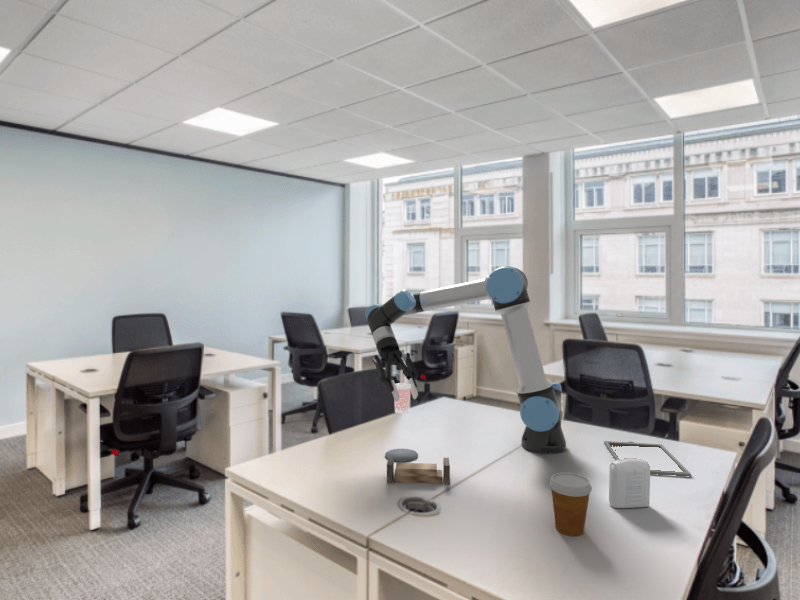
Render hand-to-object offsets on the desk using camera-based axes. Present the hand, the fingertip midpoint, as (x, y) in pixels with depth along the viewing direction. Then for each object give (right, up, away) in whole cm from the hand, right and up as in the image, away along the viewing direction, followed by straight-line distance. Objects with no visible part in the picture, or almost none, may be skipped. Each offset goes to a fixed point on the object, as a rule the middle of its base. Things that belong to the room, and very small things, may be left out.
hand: (406, 397), depth 160 cm
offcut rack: (+3, -21, -15) cm, 26 cm away
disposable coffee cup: (+38, -23, -44) cm, 62 cm away
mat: (-2, -20, +4) cm, 21 cm away
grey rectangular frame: (+78, -21, +3) cm, 81 cm away
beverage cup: (-2, -5, +3) cm, 7 cm away
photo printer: (+58, -22, -32) cm, 69 cm away
